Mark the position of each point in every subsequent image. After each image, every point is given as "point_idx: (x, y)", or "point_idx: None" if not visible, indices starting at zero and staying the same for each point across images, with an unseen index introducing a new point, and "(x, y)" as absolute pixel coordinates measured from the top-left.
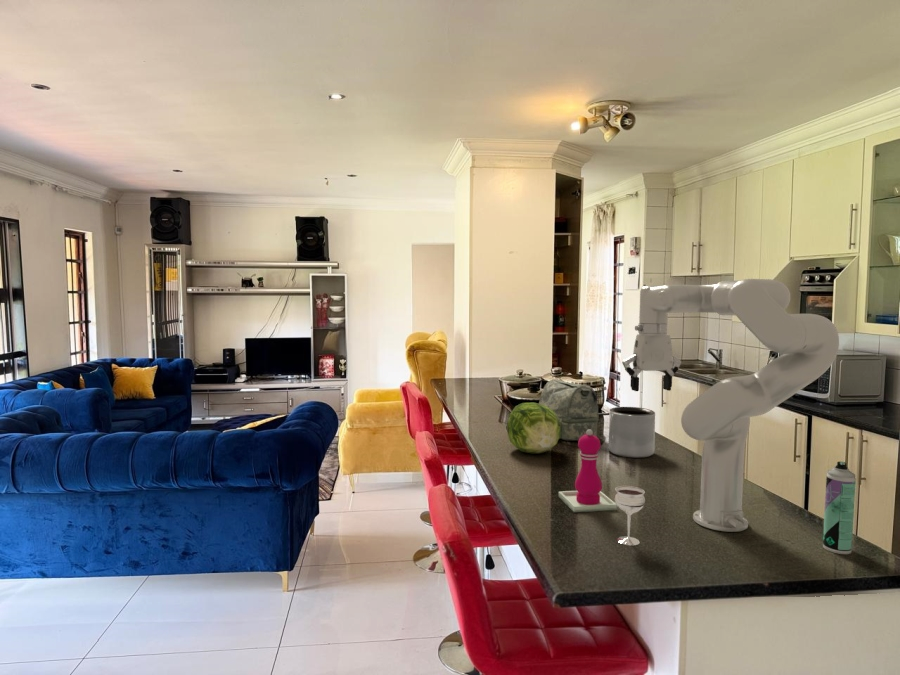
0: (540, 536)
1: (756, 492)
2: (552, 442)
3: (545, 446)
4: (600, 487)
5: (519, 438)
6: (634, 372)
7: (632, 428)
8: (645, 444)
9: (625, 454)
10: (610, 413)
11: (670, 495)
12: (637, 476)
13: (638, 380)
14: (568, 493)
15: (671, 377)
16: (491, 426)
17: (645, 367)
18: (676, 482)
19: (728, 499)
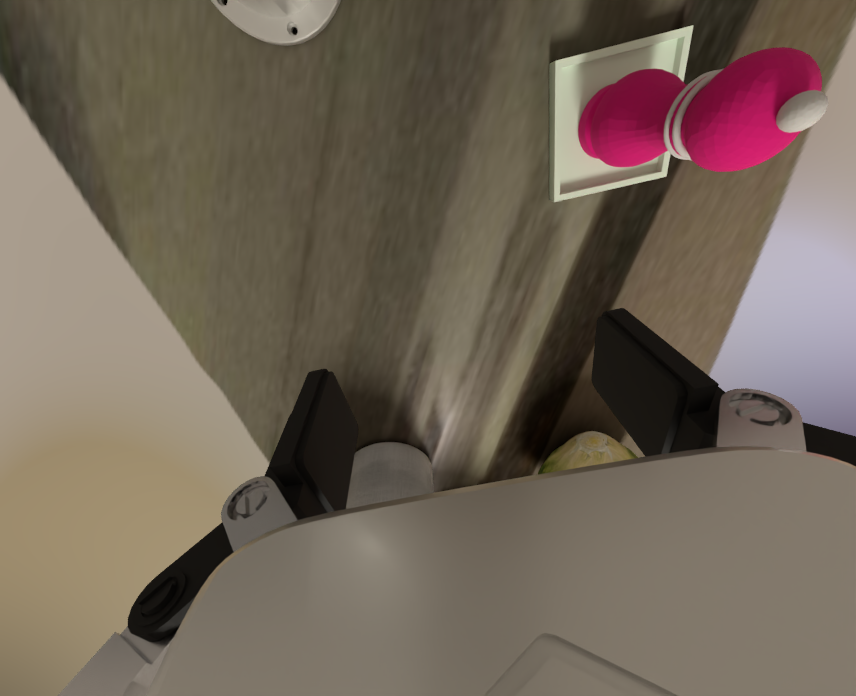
0: None
1: (145, 251)
2: (573, 445)
3: (588, 432)
4: (612, 89)
5: (636, 456)
6: (797, 441)
7: (395, 494)
8: (367, 465)
9: (408, 446)
10: None
11: (368, 209)
12: (413, 339)
13: (667, 365)
14: (639, 175)
15: (270, 477)
16: None
17: (781, 485)
18: (334, 307)
19: None
